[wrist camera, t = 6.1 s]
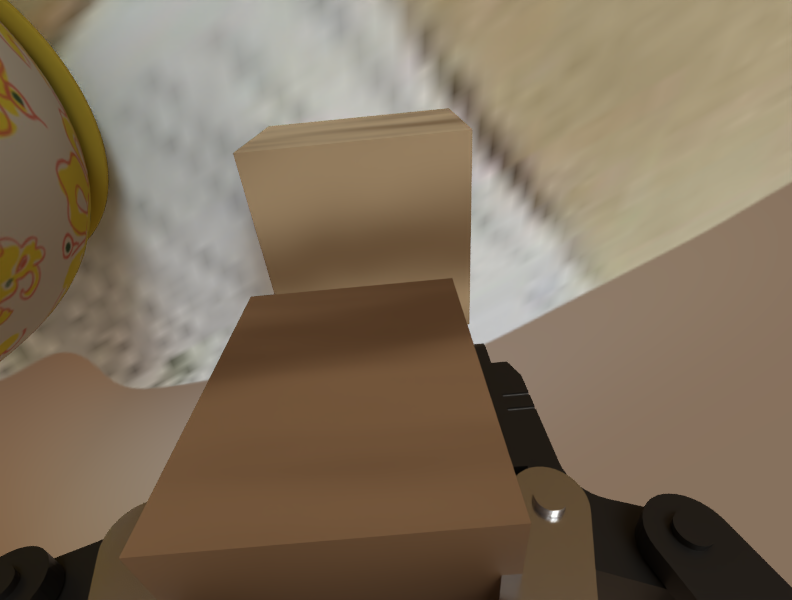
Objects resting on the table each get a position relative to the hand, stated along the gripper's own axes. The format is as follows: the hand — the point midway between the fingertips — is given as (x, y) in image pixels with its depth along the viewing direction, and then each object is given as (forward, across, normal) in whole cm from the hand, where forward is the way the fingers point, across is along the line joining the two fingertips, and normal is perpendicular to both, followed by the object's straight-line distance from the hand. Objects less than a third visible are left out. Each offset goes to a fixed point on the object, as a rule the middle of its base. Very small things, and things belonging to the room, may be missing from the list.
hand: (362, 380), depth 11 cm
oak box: (+14, 0, 0) cm, 14 cm away
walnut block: (+1, 0, 0) cm, 1 cm away
